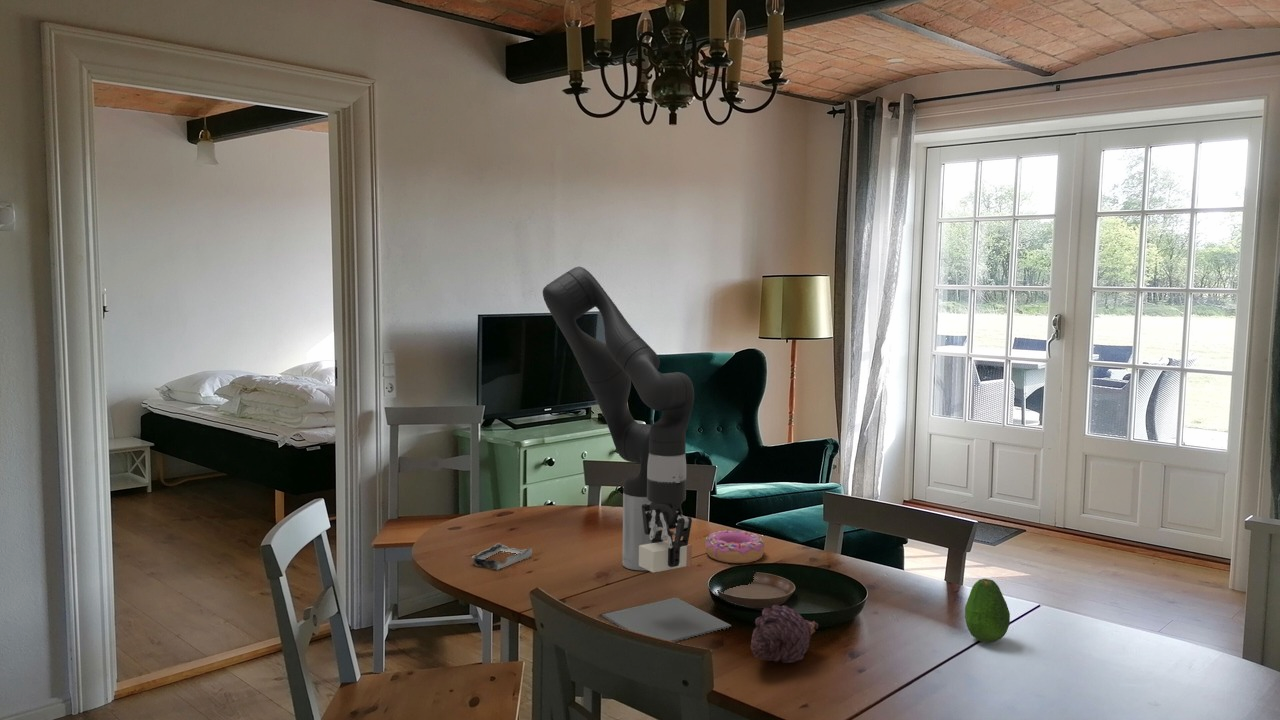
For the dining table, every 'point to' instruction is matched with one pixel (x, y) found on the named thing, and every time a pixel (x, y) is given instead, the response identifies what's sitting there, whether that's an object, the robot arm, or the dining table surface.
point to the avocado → (987, 612)
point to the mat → (667, 620)
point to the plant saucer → (760, 591)
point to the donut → (734, 546)
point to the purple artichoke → (781, 635)
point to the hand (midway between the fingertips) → (665, 561)
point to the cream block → (662, 556)
